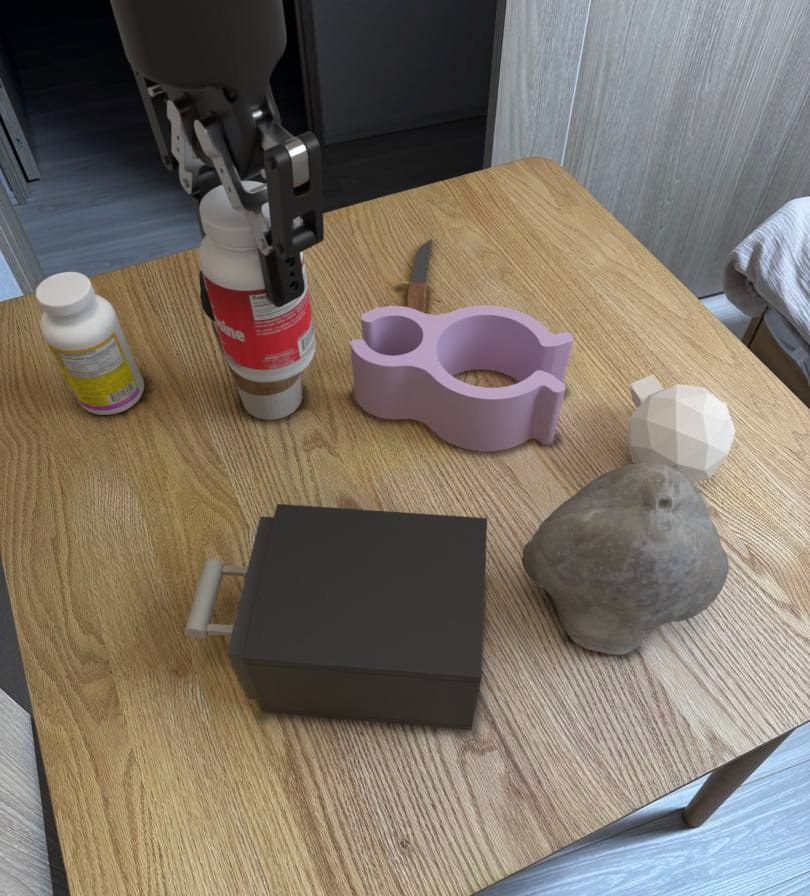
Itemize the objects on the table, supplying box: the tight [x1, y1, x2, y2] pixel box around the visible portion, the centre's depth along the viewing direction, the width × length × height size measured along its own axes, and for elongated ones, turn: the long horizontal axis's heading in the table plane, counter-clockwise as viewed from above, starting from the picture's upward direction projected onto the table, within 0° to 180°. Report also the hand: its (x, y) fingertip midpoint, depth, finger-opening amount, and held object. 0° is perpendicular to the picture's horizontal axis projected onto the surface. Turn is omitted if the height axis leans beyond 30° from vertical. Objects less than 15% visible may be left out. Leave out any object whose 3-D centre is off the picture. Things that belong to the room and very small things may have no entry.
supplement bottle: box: [35, 271, 145, 416], centre depth 70 cm, size 7×7×13 cm
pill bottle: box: [198, 180, 316, 382], centre depth 47 cm, size 6×6×11 cm
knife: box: [400, 238, 433, 313], centre depth 84 cm, size 17×1×3 cm
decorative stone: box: [521, 463, 730, 656], centre depth 56 cm, size 15×10×15 cm
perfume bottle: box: [625, 373, 737, 484], centre depth 67 cm, size 9×9×12 cm
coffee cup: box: [198, 269, 303, 421], centre depth 69 cm, size 8×8×15 cm
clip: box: [350, 304, 575, 453], centre depth 72 cm, size 20×12×7 cm, turn 77°
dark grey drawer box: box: [242, 503, 488, 731], centre depth 56 cm, size 16×13×10 cm
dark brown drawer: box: [184, 516, 274, 701], centre depth 56 cm, size 19×11×8 cm, turn 85°
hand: (253, 270), depth 46 cm, fingers closed on pill bottle, 6 cm apart
